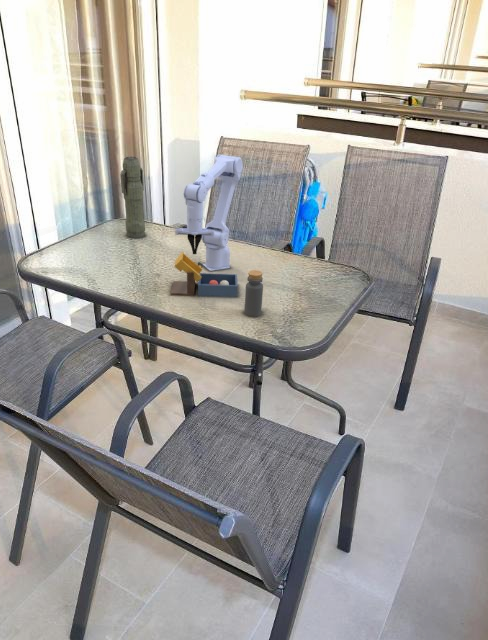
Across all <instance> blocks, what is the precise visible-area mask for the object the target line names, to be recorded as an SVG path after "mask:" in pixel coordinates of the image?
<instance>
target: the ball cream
mask: <svg viewBox="0 0 488 640" xmlns="http://www.w3.org/2000/svg"><path fill="white" fill-rule="evenodd" d="M220 285H229V283H228V281H226V280H223V281H221V282H220Z"/></svg>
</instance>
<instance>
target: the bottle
mask: <svg viewBox="0 0 488 640" xmlns="http://www.w3.org/2000/svg"><path fill="white" fill-rule="evenodd" d="M262 276H263V271H260V270H259V269H258V270H257V269H252V270H248V276H247V278H246V280H247V283H246V284H245V294H244V315H246V316H248V317H259V316H261V315H262V308H263V307H262V305H263V295H264V294H263V293H264V284H263V283H262V282H263V277H262Z"/></svg>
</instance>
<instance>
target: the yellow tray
mask: <svg viewBox="0 0 488 640" xmlns="http://www.w3.org/2000/svg"><path fill="white" fill-rule="evenodd" d="M194 262H195V261H193V260H192V259H191V258H190V257H189V256H187V255H186V254H185V252H184V251H182V252H180V253H179V255H178V256H177V258H176V259H175V261H174V265H173V266H174V268H175V269H177V270H178V271H179V272H182V271H183V272H184V273H186V274H187V272H194V280H195V282H196V283H198V282H199V280H200V279H201V278H202V277H201V276H200V275H199V273H202V271H203V267H204V266H203V265H202V264H203V263H201V261H198V262H197V263H196V262H195V263H194Z"/></svg>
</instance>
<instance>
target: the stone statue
mask: <svg viewBox="0 0 488 640" xmlns="http://www.w3.org/2000/svg"><path fill="white" fill-rule="evenodd" d="M119 174H120V184H121V185H120V186H121V187H120V188H121V193H122V195H123V199H124V207H125V222H124V223H125V231H126V237H127V238H130V239H141V238H144V237H145V236H146V221H145V218H144V205H143V204H144V203H143V199H144V191H145V187H144V170H143V168H142V167H141V164H140V161H139V158H137V157H136V156H125V157H124V158H123V161H122V170H121V171H120V173H119Z"/></svg>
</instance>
